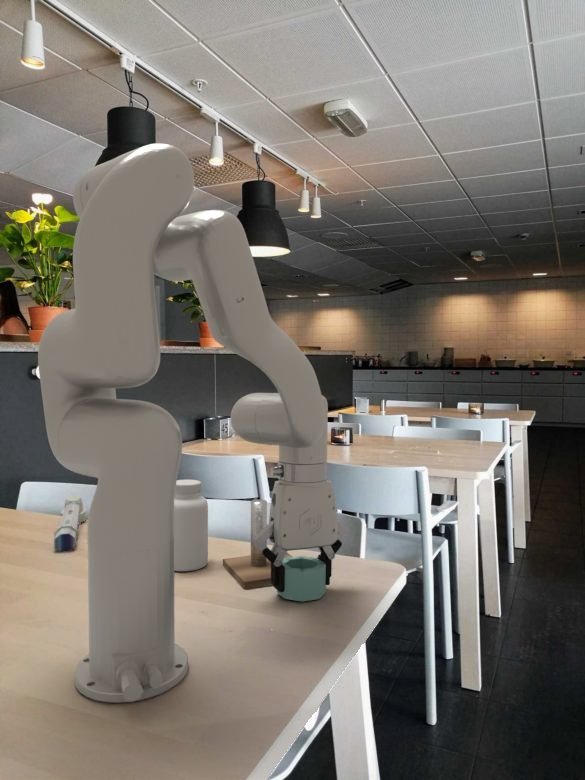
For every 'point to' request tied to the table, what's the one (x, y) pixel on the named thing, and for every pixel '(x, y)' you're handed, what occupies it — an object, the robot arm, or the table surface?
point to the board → (249, 571)
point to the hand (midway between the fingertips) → (301, 584)
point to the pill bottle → (190, 526)
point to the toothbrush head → (69, 524)
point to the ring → (304, 578)
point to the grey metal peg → (258, 530)
